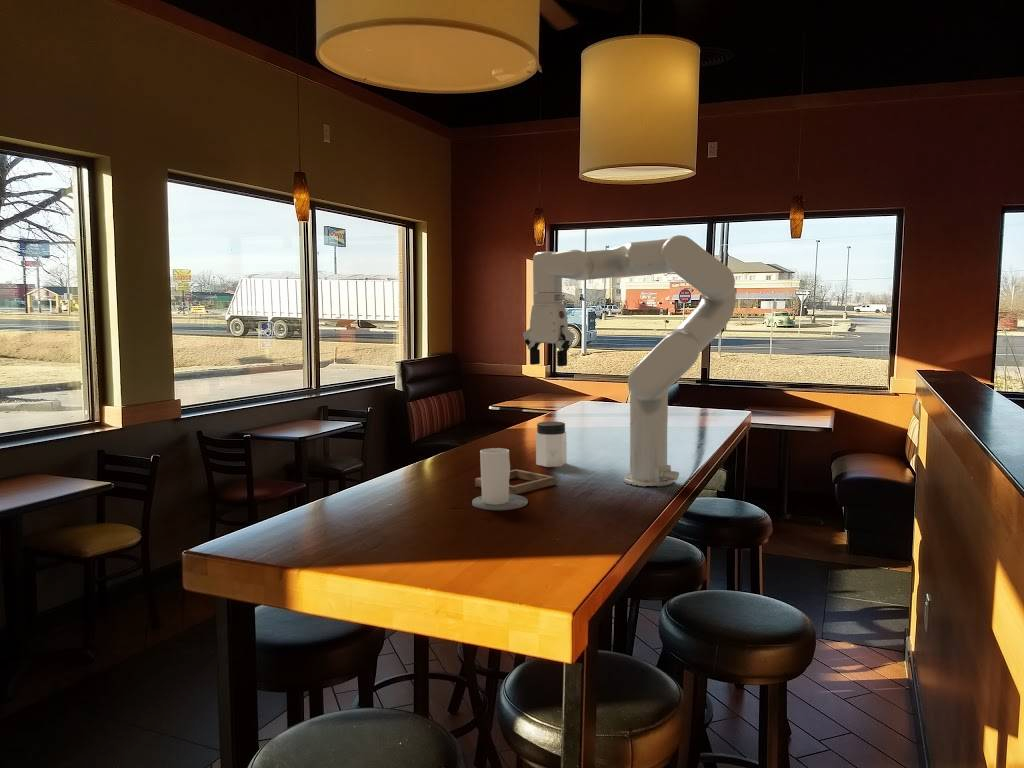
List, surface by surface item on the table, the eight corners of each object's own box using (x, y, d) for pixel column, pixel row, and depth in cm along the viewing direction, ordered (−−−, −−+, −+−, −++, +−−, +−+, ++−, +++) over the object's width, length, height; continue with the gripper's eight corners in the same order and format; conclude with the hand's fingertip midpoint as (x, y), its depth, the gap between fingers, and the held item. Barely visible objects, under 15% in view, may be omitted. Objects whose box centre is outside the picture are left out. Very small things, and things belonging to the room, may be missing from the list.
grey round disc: (539, 502, 179) (539, 500, 179) (499, 513, 170) (499, 511, 170) (500, 493, 188) (500, 491, 188) (460, 503, 179) (460, 501, 179)
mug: (500, 506, 173) (499, 454, 172) (475, 503, 177) (474, 452, 176) (522, 497, 182) (521, 447, 181) (497, 494, 185) (497, 445, 184)
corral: (554, 484, 197) (554, 476, 197) (513, 495, 186) (513, 487, 186) (516, 476, 207) (516, 469, 207) (475, 486, 196) (474, 478, 196)
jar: (538, 467, 218) (538, 426, 217) (533, 462, 226) (533, 421, 225) (569, 466, 219) (569, 425, 218) (563, 460, 227) (563, 420, 226)
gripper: (582, 299, 196) (582, 365, 198) (533, 300, 208) (534, 363, 210) (563, 299, 191) (563, 367, 193) (514, 300, 203) (515, 364, 205)
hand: (548, 365), depth 201 cm, fingers open, 9 cm apart
